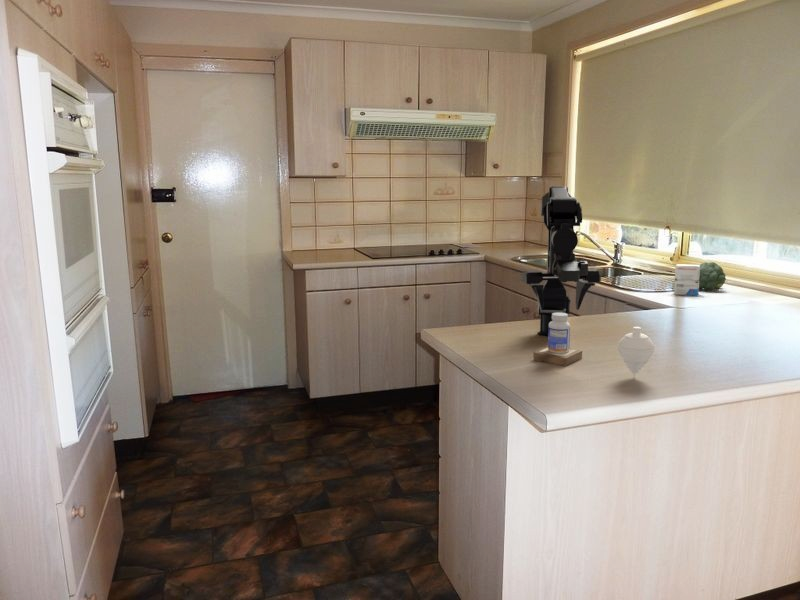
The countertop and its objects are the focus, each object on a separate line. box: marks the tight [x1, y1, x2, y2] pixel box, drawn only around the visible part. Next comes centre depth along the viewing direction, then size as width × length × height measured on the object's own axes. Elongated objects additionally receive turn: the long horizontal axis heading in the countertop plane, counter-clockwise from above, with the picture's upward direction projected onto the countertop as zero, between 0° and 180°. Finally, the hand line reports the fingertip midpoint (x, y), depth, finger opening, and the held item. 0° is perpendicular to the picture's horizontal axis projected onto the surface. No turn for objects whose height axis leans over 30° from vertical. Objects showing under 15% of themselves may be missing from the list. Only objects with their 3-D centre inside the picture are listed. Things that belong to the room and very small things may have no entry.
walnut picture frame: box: [532, 345, 583, 367], centre depth 160 cm, size 9×9×2 cm
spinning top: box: [617, 326, 655, 379], centre depth 143 cm, size 8×8×12 cm
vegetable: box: [699, 261, 727, 292], centre depth 254 cm, size 12×13×15 cm
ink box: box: [673, 263, 701, 297], centre depth 245 cm, size 9×5×12 cm, turn 58°
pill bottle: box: [547, 313, 571, 353], centre depth 159 cm, size 5×5×10 cm
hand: (559, 309), depth 158 cm, fingers open, 9 cm apart
